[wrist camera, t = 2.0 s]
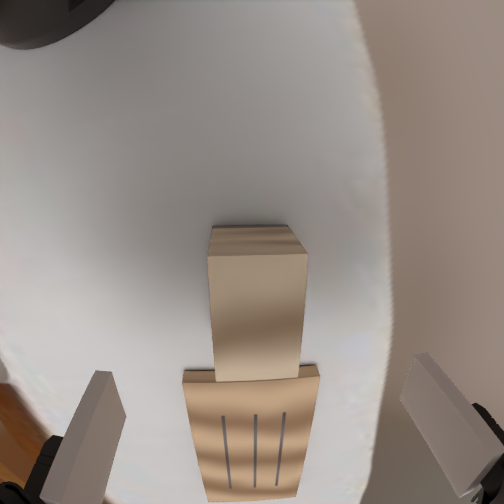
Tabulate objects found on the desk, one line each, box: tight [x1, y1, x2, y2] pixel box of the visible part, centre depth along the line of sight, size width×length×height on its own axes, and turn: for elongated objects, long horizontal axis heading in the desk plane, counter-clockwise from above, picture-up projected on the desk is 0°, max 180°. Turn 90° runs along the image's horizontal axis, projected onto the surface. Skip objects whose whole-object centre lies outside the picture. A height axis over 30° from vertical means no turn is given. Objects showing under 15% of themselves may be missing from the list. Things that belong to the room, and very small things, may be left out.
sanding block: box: [207, 225, 308, 382], centre depth 20 cm, size 8×5×6 cm, turn 0°
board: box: [182, 365, 320, 502], centre depth 28 cm, size 22×11×2 cm, turn 0°
